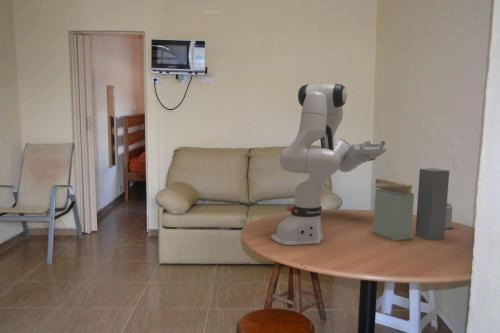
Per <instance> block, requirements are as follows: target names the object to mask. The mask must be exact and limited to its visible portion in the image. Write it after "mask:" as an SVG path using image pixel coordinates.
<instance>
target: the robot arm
mask: <svg viewBox="0 0 500 333" xmlns="http://www.w3.org/2000/svg"><path fill="white" fill-rule="evenodd" d="M347 97H348V92H347V89H346V87H345V86H344V85H343V84H340V83H335V84H334V83H321V82H320V83H311V84H309V83H308V84H305V85H304V84H303V85H302V86H301V87H300V88H299V89H298V93H297V99H298V104H299V105H300V106H301V107H302V109H301V112H300V113H301V114H300V122H299V129H298V132H297V135H296V136H295V139H294V140H292V142H291V143H290V144H289V145H288V146H287V147H285V148H284V149H282V151H281V153H280V154H279V158H278V159H279V165H280V168H282V170H284V171H285V172H289V173H295V174H308V175H309V178H308V179H307V180H304V181H302V182H299V184H297V185H296V187H295V190H294V205H293V206H290V205H287V207H286V211H288V212H290V214H289V215H288V216H286V217H285V218H284V219H283V220H282V221H281V222H279V223H278V224H277V228H276V233H274V234H271V235H270V236H271V237H270V238H271V240H272V241H274V242H275V243H278V244H281V245H283V246H297V245H301V246H302V245H312V244H313V245H317V244H321V242H322V241H323V240H324V235H323V231H322V223H321V222H322V221H321V220H322V219H321V218H322V210H323V208H322V204H321V203H322V192H323V188H324V185H325V183H326V182H327V180H328V179H329V178H330V177H331V176H332V175H334V174H335V173H336V172H337V171H339V172H342V173H348V172H351V171H354V170H355V169H356V168H358V167H359V166H361V165H362V164H364V163H367V162H369V161H375V160H376V159H377V158H378V157H380V156H381V155H382V154H384V153H385V152H387V149H388V148H387V142H386V140H382V141H380V143H379V142H378V143H371V141H369V140H366V141H364V142H362V143H353V144H351V145H350V144H349V142H348V141H346V140H345V139H342V138H334V137H335V134H336V132H337V130H338V128H339V126H340V124H341V122H342V120H343V114H344V111H343V110H344V109H343V106H344V105H345V104H346V102H347V99H348V98H347ZM319 140H320V147H319V148H318V147H317V148H316V147H311V146H312V145H313V144H314V143H315V142H317V141H319Z"/></svg>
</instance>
